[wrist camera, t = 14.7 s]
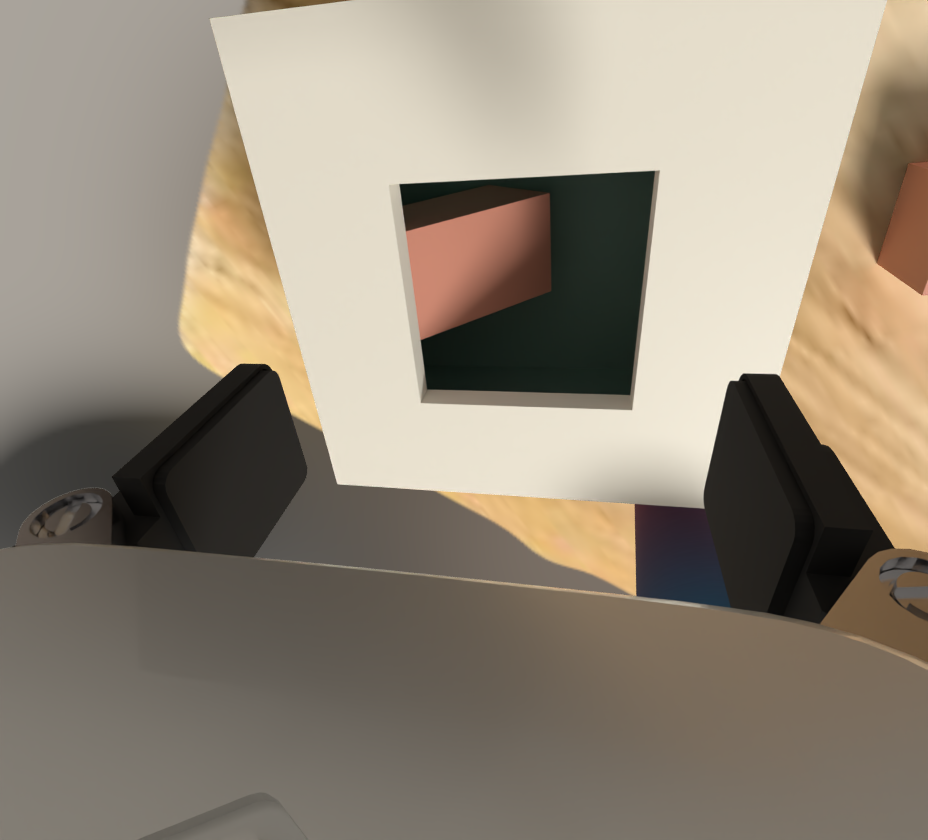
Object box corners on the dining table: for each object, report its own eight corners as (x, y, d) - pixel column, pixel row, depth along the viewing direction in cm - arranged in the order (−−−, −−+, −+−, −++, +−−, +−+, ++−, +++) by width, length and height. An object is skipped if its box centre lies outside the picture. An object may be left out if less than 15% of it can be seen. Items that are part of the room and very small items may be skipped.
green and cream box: (767, -15, 19) (906, -70, 11) (695, 378, 28) (741, 510, 20) (347, 33, 22) (209, 18, 14) (402, 371, 31) (337, 484, 23)
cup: (610, 428, 30) (628, 675, 18) (741, 411, 28) (860, 679, 16) (625, 514, 34) (648, 772, 22) (743, 505, 32) (842, 785, 19)
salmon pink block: (549, 192, 21) (394, 234, 18) (551, 291, 23) (413, 342, 20) (488, 184, 24) (346, 219, 21) (495, 272, 26) (367, 315, 23)
